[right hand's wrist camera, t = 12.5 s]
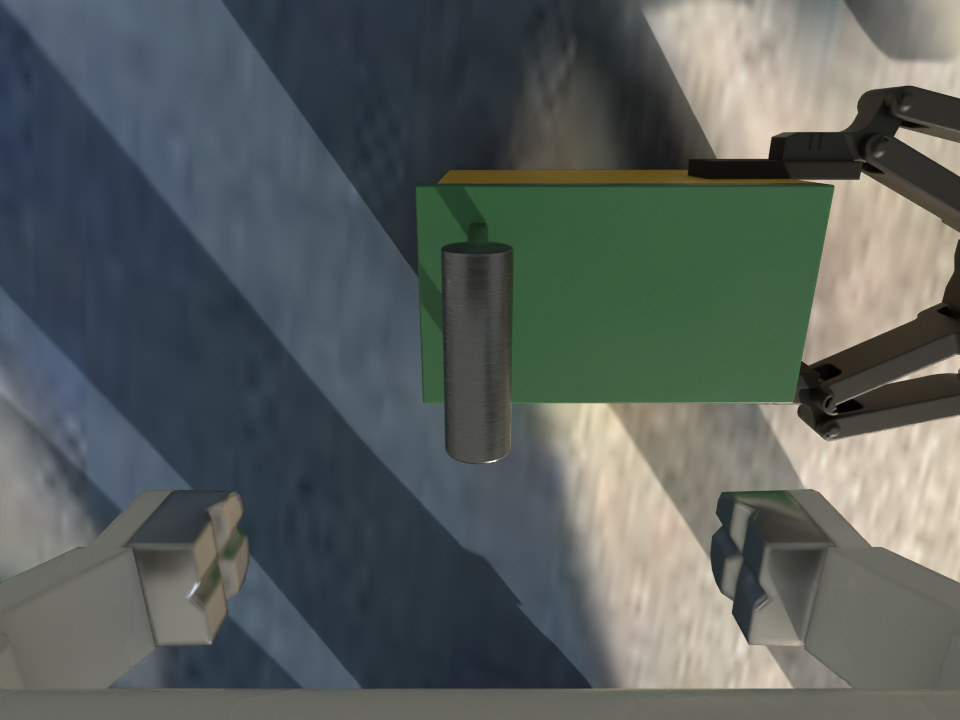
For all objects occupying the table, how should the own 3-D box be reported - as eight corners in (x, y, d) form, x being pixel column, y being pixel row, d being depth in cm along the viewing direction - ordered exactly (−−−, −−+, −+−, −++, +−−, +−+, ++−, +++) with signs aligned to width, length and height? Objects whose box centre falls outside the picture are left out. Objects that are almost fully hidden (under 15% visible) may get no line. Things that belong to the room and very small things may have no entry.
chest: (452, 326, 37) (441, 392, 27) (449, 170, 34) (436, 183, 24) (703, 326, 37) (780, 392, 27) (723, 169, 34) (818, 182, 24)
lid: (425, 392, 27) (401, 499, 19) (418, 183, 24) (386, 206, 16) (781, 392, 27) (905, 499, 19) (819, 182, 24) (987, 205, 16)
